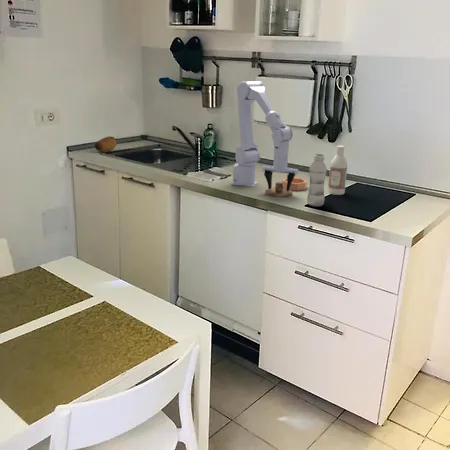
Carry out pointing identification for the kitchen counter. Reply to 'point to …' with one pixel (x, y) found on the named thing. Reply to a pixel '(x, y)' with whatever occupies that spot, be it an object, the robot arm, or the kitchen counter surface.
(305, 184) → the bowl
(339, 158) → the bath foam
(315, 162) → the plastic bottle
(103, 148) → the potato
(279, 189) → the lid
